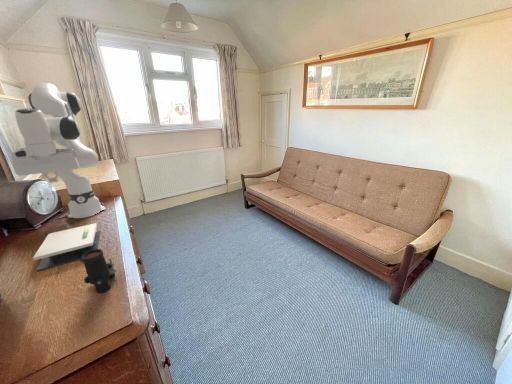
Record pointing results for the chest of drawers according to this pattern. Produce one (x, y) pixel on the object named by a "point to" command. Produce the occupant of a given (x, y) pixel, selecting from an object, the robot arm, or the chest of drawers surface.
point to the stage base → (67, 256)
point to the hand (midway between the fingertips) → (54, 181)
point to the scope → (98, 270)
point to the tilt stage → (66, 241)
